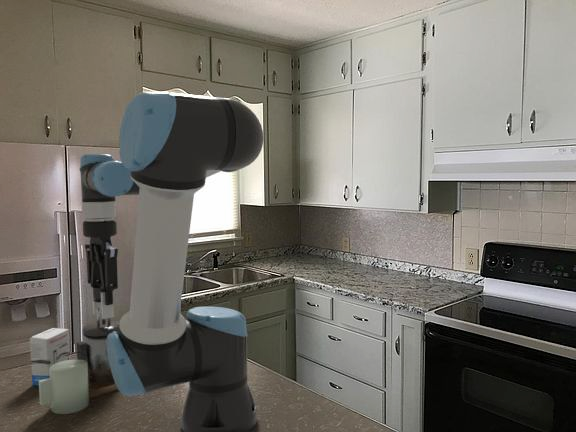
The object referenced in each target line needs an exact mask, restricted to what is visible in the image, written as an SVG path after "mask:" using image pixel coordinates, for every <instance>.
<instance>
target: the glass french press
mask: <svg viewBox="0 0 576 432" xmlns="http://www.w3.org/2000/svg"><path fill="white" fill-rule="evenodd" d="M100 315H101V314H99V308H97V315H96V322H93V323H89V324H87V325H84V326H83V328H82V336H83V338H84V339H83V340H84V341H82V340H80V341H78V342H76V359H79V360H85V361H86V362H87V364H88V387H89V399H92V398H96V397H99V396H102V395H106V394H109V393H112V392H115V391H119V390H118V388H117V386H116V384H115V381H114V378H113V375H112V372H111V368H110V364H109V359H108V353H107V343H106V340H107V336H108V335H109V334H110V333H113V332H114V331H116V332H119V326H120V320H119V321H118V320H111V318H107V320H106V324H105V325H102V321H101V319H100Z"/></svg>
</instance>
